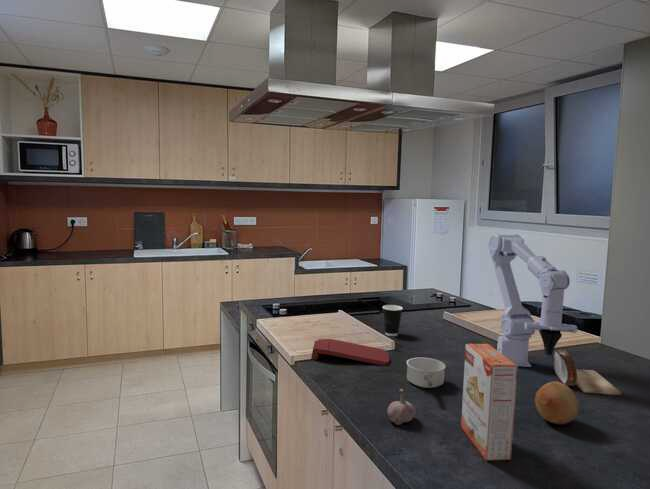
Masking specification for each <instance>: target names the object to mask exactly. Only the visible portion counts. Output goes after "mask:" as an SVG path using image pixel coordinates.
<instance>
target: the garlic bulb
mask: <svg viewBox="0 0 650 489" xmlns="http://www.w3.org/2000/svg"><path fill="white" fill-rule="evenodd" d="M398 391H399V397H400V398H399V401H398V400H396V401H392V402H391V403H390V404H389V405H388V407H387V410H386V413H387V416H388V419H389V420H390V421H391V422H393V423H394V424H395V425H398V426H400V425H402V424H403V423H408V422H411V421H412V420H413V419H414V417H415V415H416V407H415V406H414V404H412V403H411V402H408V401H406V400H405V393H404V392H405V391H404V389H403V388H400V389H399V390H398Z"/></svg>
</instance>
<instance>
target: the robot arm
mask: <svg viewBox="0 0 650 489" xmlns="http://www.w3.org/2000/svg"><path fill="white" fill-rule="evenodd" d="M487 247H488V251H489V254H490V259H491V261H492V264H493V267H494V271H495V275H496V276H495V277H496V279H497V282H498V287H499V290H500V294H501V297H502V300H503V304H504V308H505V309H504V311H503V312H502V313H501V315H499V317H500V328H501V331H502V333H503V335H499V336H498V338H497V344H496V345H497V348H496V350H497V351H498V352H500V353H501V354H502V355H504V356H505V357H506V358H508V359H509V360H510V361H512V362H513V363H514V364H516V365H517V366H518V367H523V368H525V367H528V368H531V367H532V365H531V363H529V362H530V361H528V359H529V357H528V355H529V348H530V339H531V338H532V335H534V334H535V332H536V331H538V332H539V335H540V337H541V340H542V344H543V348H544V354H546V355H547V356H552V355H553V353H554V351H555V350H554V349H555V347H556V345H557V344H558V341H559V340H560V339H561V338H562V335H563V334H562V332H565V333H573V334H577V333H578V332H577V331H578V326H577V325H575V324H567V323H562V321H563V311H564V310H563V308H564V297H565V290H567V289H568V288H569V286H570V282H571V281H570V276H569V275H568V273H567V272H566V270H564V269H563V270H560V269H557V268H556V266H554V265H553V264H551V263H550V262H549V261H548V260H547V258H546V257H545V256H543V255H542V256H541V255H536V254H535V253H534V252H533V251H532V250H531V249H530V248H529V246H528V245H527V244H526V243H525V239H524V238H523V237H522V236H521V235H520V234H519V233H514V234H498V233H494V234H492V235H491V236H490V238H489V241H488V244H487ZM517 256H518V257H519V258H520V259H521V260H523V261H524V262H525V263H526V264H527V265H526V268H527V269H528V271H530V273H531V274H533V275H534V276H535V277H536V278H537V279H538V284H539V287H540V289H541V290H540V292H541V295H542V298H541V312H540V321H537V322H536V321H535V319H534V318H533V317H532V315H531V314H532V313H531V312H530V310H528V309H527V308H525V307H524V306H523V305H522V304H523V303H522V301H521V297H520V295H519V290H518V286H517V283H516V280H515V277H514V273H513V270H512V265H511V263H512V261H514V260H515V259H516V257H517Z"/></svg>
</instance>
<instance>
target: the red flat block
mask: <svg viewBox="0 0 650 489" xmlns="http://www.w3.org/2000/svg"><path fill="white" fill-rule="evenodd" d="M318 353H319V354H324V355H329V356H333V357H338V358H342V359H343V358H345V359H347V360H348V359H349V360H353V361H358V362H363V363H368V364H373V365H378V366H386V365H389V364H390V362H391V360H390V355H389V352H388V351H387V350H385V349H383V348H379V347H378V348H377V347H373V346H369V345H364V344H360V343H359V344H358V343H353V342H349V341H344V340H338V339H334V338H319V339H317V340H314V343H313V346H312V352H311V357H310V360H318V357H319V354H318Z"/></svg>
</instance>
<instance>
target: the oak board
mask: <svg viewBox="0 0 650 489" xmlns="http://www.w3.org/2000/svg"><path fill="white" fill-rule="evenodd" d="M576 370H577V381H576V385H575V386H577V387H578V388H579V389H580V391H582V392H583V393H589V394H590V393H591V394H600V395H601V394H602V395H616V396H622V391H620V390H619V389H618V388H617V387H615V386H614V385H613V384H612V383H610V382H609V381H608V380H606V378H604V377H603V376H602V375H601V374H599V373H598V372H597V371H595V370H594V369H580V368H579V369H578V368H576Z"/></svg>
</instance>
